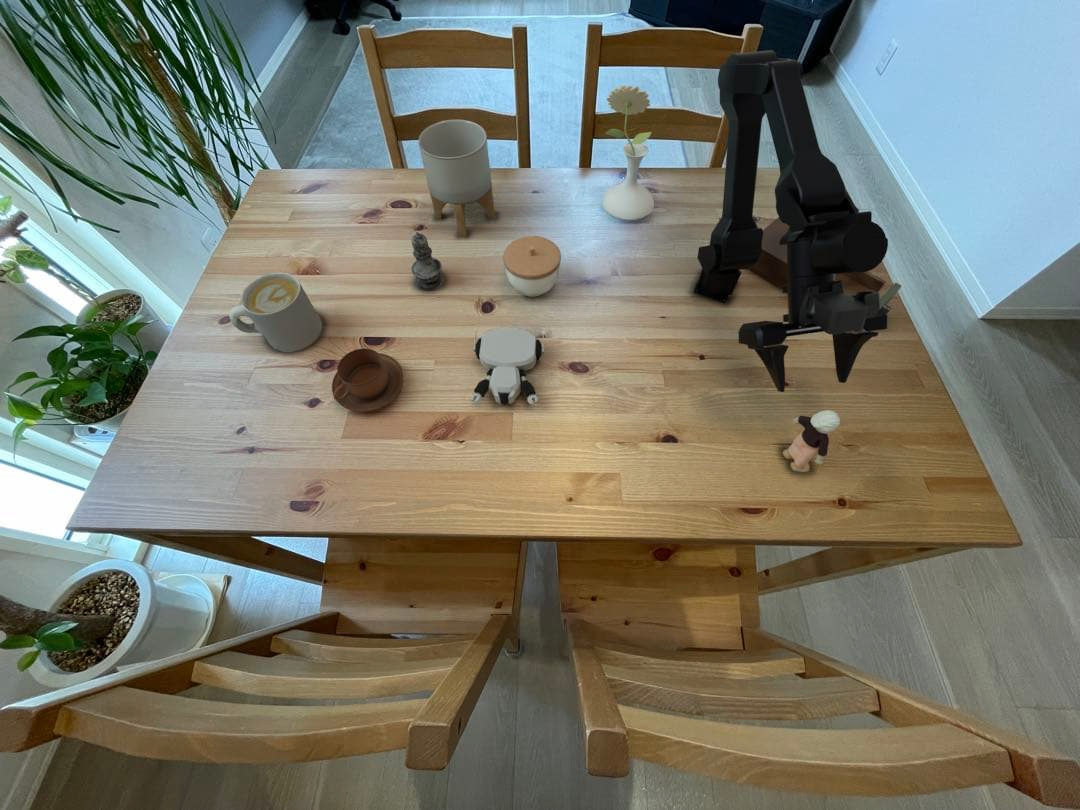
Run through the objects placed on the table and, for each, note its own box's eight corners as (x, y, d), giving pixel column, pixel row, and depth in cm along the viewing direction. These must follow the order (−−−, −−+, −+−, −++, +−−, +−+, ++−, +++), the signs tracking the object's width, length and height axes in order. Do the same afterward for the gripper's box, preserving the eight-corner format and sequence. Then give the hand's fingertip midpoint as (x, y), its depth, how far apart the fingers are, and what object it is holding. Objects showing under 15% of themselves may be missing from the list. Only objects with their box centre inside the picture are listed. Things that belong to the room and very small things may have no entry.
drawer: (896, 303, 96) (908, 289, 92) (868, 333, 92) (880, 319, 89) (830, 266, 101) (839, 251, 98) (801, 293, 97) (809, 278, 94)
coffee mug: (325, 309, 98) (304, 270, 90) (318, 349, 93) (295, 312, 85) (255, 314, 98) (227, 275, 89) (243, 355, 93) (213, 318, 84)
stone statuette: (410, 287, 101) (394, 238, 91) (424, 267, 104) (410, 218, 94) (436, 295, 100) (423, 246, 90) (450, 275, 103) (439, 225, 93)
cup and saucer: (384, 425, 84) (373, 405, 79) (322, 404, 87) (307, 384, 81) (418, 370, 90) (409, 348, 85) (359, 352, 93) (347, 329, 87)
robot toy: (541, 413, 86) (544, 339, 93) (541, 400, 82) (544, 324, 89) (469, 411, 87) (478, 338, 94) (465, 398, 83) (474, 323, 89)
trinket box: (530, 314, 97) (528, 277, 89) (494, 284, 101) (490, 246, 93) (571, 286, 100) (573, 249, 92) (535, 258, 105) (534, 220, 97)
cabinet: (830, 269, 102) (844, 247, 97) (798, 299, 98) (811, 277, 93) (772, 236, 107) (782, 214, 103) (739, 263, 103) (748, 241, 98)
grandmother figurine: (820, 472, 79) (863, 432, 68) (800, 482, 78) (840, 443, 67) (787, 433, 82) (823, 389, 72) (768, 442, 82) (801, 399, 71)
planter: (493, 236, 109) (483, 157, 94) (432, 236, 109) (413, 158, 94) (496, 198, 116) (488, 119, 100) (439, 198, 116) (423, 119, 101)
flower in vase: (661, 203, 114) (687, 83, 92) (638, 232, 109) (659, 113, 87) (609, 184, 118) (622, 65, 96) (585, 212, 112) (593, 93, 91)
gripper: (778, 282, 61) (781, 408, 65) (924, 263, 62) (919, 387, 66) (734, 284, 72) (738, 392, 75) (859, 268, 73) (857, 374, 77)
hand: (811, 387), depth 73 cm, fingers open, 9 cm apart
